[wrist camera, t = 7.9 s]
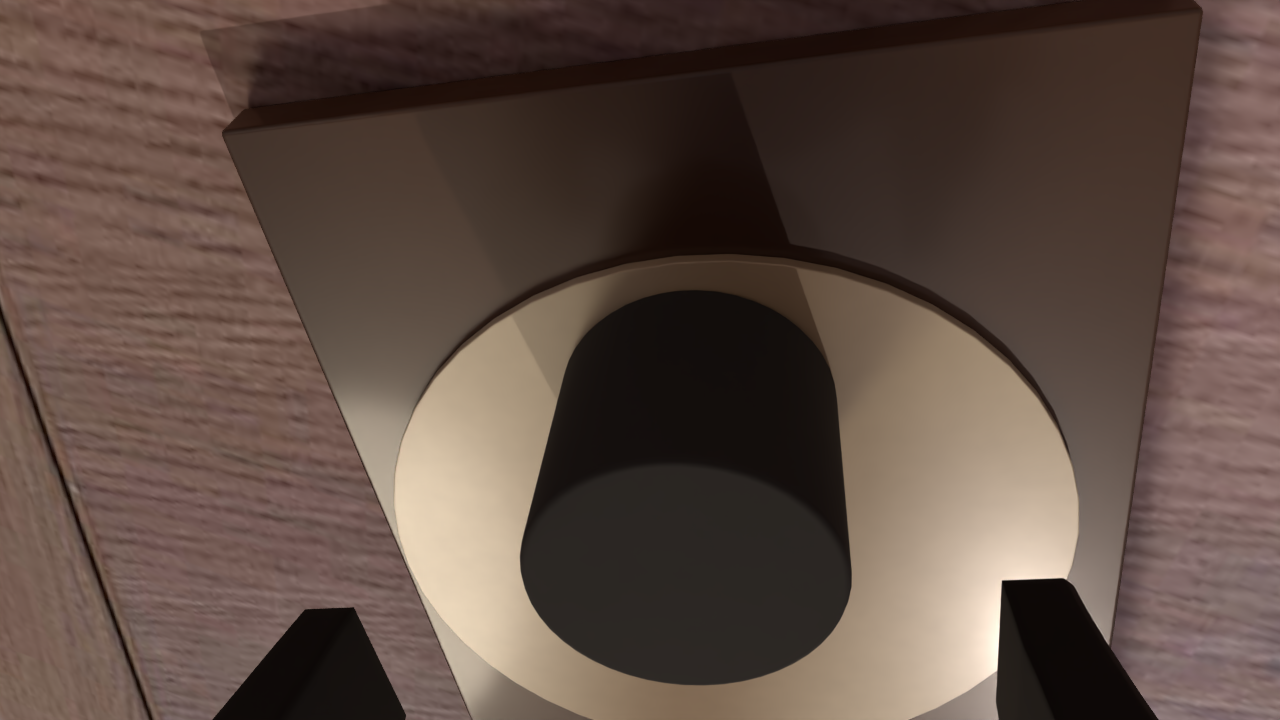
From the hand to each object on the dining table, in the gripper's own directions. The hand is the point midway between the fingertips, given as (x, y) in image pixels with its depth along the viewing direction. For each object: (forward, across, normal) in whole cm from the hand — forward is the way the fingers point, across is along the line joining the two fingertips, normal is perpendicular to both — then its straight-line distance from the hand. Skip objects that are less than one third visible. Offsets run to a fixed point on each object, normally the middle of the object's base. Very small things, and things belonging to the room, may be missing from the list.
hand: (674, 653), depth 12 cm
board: (+6, 0, +3) cm, 6 cm away
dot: (+4, 0, 0) cm, 5 cm away
